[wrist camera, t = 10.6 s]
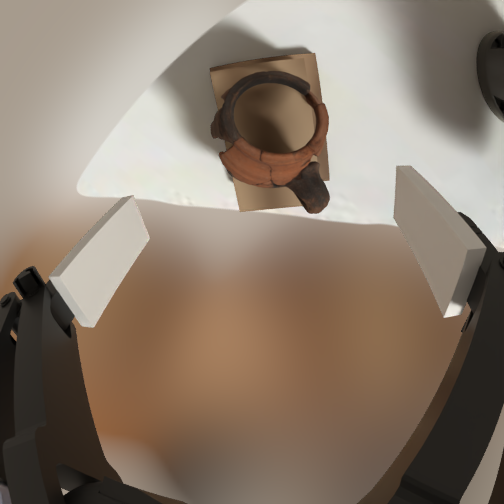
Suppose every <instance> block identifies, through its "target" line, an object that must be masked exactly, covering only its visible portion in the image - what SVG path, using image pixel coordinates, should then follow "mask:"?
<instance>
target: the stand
mask: <svg viewBox="0 0 504 504" xmlns="http://www.w3.org/2000/svg"><path fill="white" fill-rule="evenodd" d="M262 71H265V72H268V71H282V72H286V73H290V74H292V75H294V76H298V77H300V78H302V79H303V80H305V81H307V82H308V83H309V84H310V91H311V92H312V93H313V94H314V95H315V96H316V97H317V99H318V100H319V101H320V102H321V103H322V96H321V88H320V81H319V74H318V68H317V61H316V55H315V53H309V54H296V55H285V56H276V57H268V58H261V59H255V60H248V61H243V62H237V63H232V64H227V65H222V66H217V67H213V68H210V75H211V80H212V84H213V89H214V94H215V99H216V103H217V108H218V110H219V109H220V108H222V105H223V104H224V100H223V99H222V98H221V96H222V95H223V94H224V93H225V92H226V91H227V90H228V89H230V88H231V87H233V85H234V84H235V83H236V82H238V81H239V80H240V79H242V78H244V77H245V76H248V75H250V74H253V73H256V72H262ZM234 122H235V125H236V127H237V129H238V131H239V133H240V135H241V136H242V137H244V138H245V139H246V140H247V141H248V142H249V143H250V144H252V145H253V146H255V147H257V148H259V149H261V150H263V151H267V152H271V153H289V152H293V151H296V150H298V149H300V148H302V147H303V146H305V145H306V144H307V143H308V142H309V141H310V139H311V138H312V136H313V134H314V132H315V128H316V116H315V113H314V109H313V108H312V107H311V106H310V105H309V104H308V103H307V101H306V98H305V96H304V95H302V94H301V93H300V92H298V91H297V90H295V89H293V88H291V87H289V86H286V85H282V84H276V83H265V84H259V85H256V86H253V87H251V88H249V89H248V90H246V91H245V92H244V93H243V94H242V95H241V96H240V97H239V98H238V100H237V101H236V104H235V107H234ZM225 145H226V150H228V149H229V148H230V147H231V146H232V145H233V144H231V143H230V142H227V141H225ZM312 161H316V162H318V163H319V164H320V167H319V174H320V177H321V179H322V180H323V181H328V180H329V165H328V152H327V141H326V138H325V142H324V146H323V149H322V151H321V154H320V155H319V157H317V156H315V155H313V156H312V158H311V161H310V162H312ZM232 177H233V176H232ZM233 182H234V187H235V191H236V196H237V200H238V205H239V210H240V212H245V211H255V210H264V209H275V208H285V207H296V206H302V204H301V203H300V201H299V200H298V198H297V196H296V195H295V194H294V192H293V191H292V190H290V189H289V188H287V187H280V188H262V187H257V186H253V185H249V184H246V183H244V182H241V181H239V180H237V179H235V178H234V177H233Z"/></svg>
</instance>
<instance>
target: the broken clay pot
mask: <svg viewBox="0 0 504 504" xmlns="http://www.w3.org/2000/svg"><path fill="white" fill-rule="evenodd" d="M265 83H276V84H282V85H286V86H289V87H291V88H293V89H295V90H297V91H298V92H300V93H301V94H302V95H304V96H305V98H306V101H307V103H308V104H309V105H310V106H311V107H312V108H313V109H314V113H315V116H316V128H315V132H314V134H313V136H312V138H311V139H310V141H309V142H308V143H307V144H306V145H305V146H303V147H302V148H300V149H298V150H296V151H293V152H289V153H271V152H267V151H263V150H261V149H259V148H257V147H255V146H253V145H252V144H250V143H249V142H248V141H247V140H246V139H245V138H244V137H242V136H241V135H240V133H239V131H238V129H237V127H236V125H235V122H234V107H235V104H236V101H237V100H238V98H239V97H240V96H241V95H242V94H243V93H244V92H245V91H246V90H248V89H249V88H251V87H253V86H256V85H259V84H265ZM221 98H222V99H223V100H224V104H223V105H222V108H220V109H219V110H218V112H217V113H216V115H215V118H214V121H213V122H212V124H211V135H212V137H213V138H220V139H223V140H225V141H227V142H230V143H231V144H233V145H232V146H231V147H230V148H229V149H228V150H227V151H225V152H220V153H219V156H220V159H221V161H222V164H223V165H224V166H225V167H226V169H227V171H228V173H229V174H230V175H231V176H233V177H234V178H235V179H237V180H239V181H241V182H244V183H246V184H249V185H253V186H257V187H262V188H280V187H287V188H289V189H290V190H292V191H293V192H294V194H295V195H296V196H297V198H298V200H299V201H300V203H301V204H302V206H303V207H304V208H305V210H306V211H307V212H308V213H310V214H313V213H315V214H316V213H320V212H321V211H322V210H323V209H324V208H325V207H326V206H327V205H328V202H329V200H330V196H329V192H328V190H327V188H326V185H325V183H324V182H323V180H322V179H321V177H320V174H319V167H320V164H319V163H318V162H316V161H312V162H310V161H311V158H312V156H313V155H315V156H317V157H319V155H320V154H321V151H322V149H323V146H324V142H325V138H326V135H327V132H328V125H329V116H328V113H327V109H326V106H325V104H324V103H321V102H320V101H319V100H318V99H317V97H316V96H315V95H314V94H313V93H312V92H311V91H310V84H309V83H308V82H307V81H305V80H303V79H302V78H300V77H298V76H294V75H292V74H290V73H286V72H282V71H268V72H265V71H262V72H256V73H253V74H250V75H248V76H245V77H244V78H242V79H240V80H239V81H238V82H236V83H235V84H234V85H233V87H231V88H230V89H228V90H227V91H226V92H225V93H224V94H223V95H222V96H221Z"/></svg>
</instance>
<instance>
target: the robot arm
mask: <svg viewBox="0 0 504 504" xmlns="http://www.w3.org/2000/svg"><path fill="white" fill-rule="evenodd" d="M477 71H478V78H479V82H480V86H481V89H482V92H483V95H484V97H485V100H486V102H487V104H488V105H489V107H490V109H491V110H492V111H493V113H494V114H495V115H496V116H497V117H498V118H499V119H500V120H501V121H503V122H504V32H498V31H497V32H491V33H489V34H487V35H486V36H485V37H484V38H483V40H482V42H481V44H480V46H479V49H478V55H477ZM393 218H394V219H395V221H396V223H397V225H398V226H399V228H400V229H401V231H402V233H403V235H404V237H405V239H406V240H407V242H408V244H409V246H410V248H411V250H412V251H413V253H414V255H415V257H416V259H417V261H418V263H419V265H420V267H421V269H422V271H423V273H424V275H425V277H426V279H427V281H428V283H429V285H430V287H431V290H432V292H433V294H434V296H435V298H436V301H437V303H438V305H439V307H440V310H441V312H442V314H443V317H450V316H456V315H460V314H462V312H463V310H464V307H465V305H466V302H468V304H469V306H470V308H471V312H470V314H469V316H468V318H467V320H466V322H465V324H464V326H463V328H462V330H461V332H463V333H462V335H461V338H460V341H459V343H458V346H457V348H456V351H455V353H454V355H453V358H452V360H451V362H450V365H449V367H448V370H447V371H446V374H445V376H444V378H443V380H442V382H441V384H440V386H439V388H438V390H437V392H436V394H435V396H434V398H433V400H432V402H431V403H430V405H429V407H428V409H427V411H426V412H425V414H424V416H423V418H422V419H421V421H420V423H419V424H418V426H417V428H416V429H415V431H414V433H413V434H412V436H411V437H410V439H409V440H408V442H407V443H406V445H405V447H404V448H403V449H402V451H401V452H400V454H399V455H398V456H397V458H396V459H395V461H394V462H393V464H392V465H391V466H390V467H389V469H388V470H387V471H386V473H385V474H384V475H383V477H382V478H381V479H380V481H379V482H378V483H377V484H376V485H375V487H374V488H373V489H372V490H371V491H370V492H369V493H368V494H367V495H366V496H365V497H364V498H363V499H361V500H360V501H359V502H358V503H357V504H459V503H460V500H461V498H462V496H463V494H464V492H465V490H466V489H467V486H468V485H469V483H470V481H471V480H472V477H473V476H474V474H475V472H476V470H477V468H478V466H479V464H480V462H481V460H482V458H483V456H484V453H485V451H486V449H487V447H488V444H489V442H490V440H491V437H492V435H493V432H494V430H495V427H496V424H497V422H498V419H499V416H500V413H501V410H502V407H503V404H504V252H498V251H497V250H496V248H495V247H494V246H493V245H492V243H491V242H490V241H489V240H488V238H487V237H486V236H485V235H484V234H482V231H481V230H480V229H479V228H477V225H476V224H475V223H474V222H473V221H472V220H471V219H470V218H469V217H467V216H466V215H464V214H463V213H461V212H456V210H455V209H454V208H453V207H452V206H451V205H450V204H449V203H448V202H447V201H446V200H445V199H444V198H443V197H442V195H441V194H440V193H439V192H438V191H437V190H436V189H435V188H434V187H433V186H432V185H431V184H430V183H429V182H428V181H427V180H426V179H424V178H423V177H422V176H421V175H420V174H419V173H418V172H417V171H416V170H415V169H414V168H413V167H412V166H396V189H395V205H394V217H393ZM149 239H150V237H149V235H148V232H147V230H146V227H145V225H144V222H143V220H142V217H141V214H140V212H139V209H138V206H137V204H136V201H135V198H134V195H132V196H127V197H123V198H121V199H120V200H119V201H118V202H117V203H116V204H115V205H114V206H113V207H112V208H111V209H110V210H109V211H108V212H107V213H106V214H105V215H104V216H103V217H102V218H101V219H100V220H99V221H98V222H97V223H96V224H95V225H94V226H93V227H92V228H91V229H90V230H89V231H88V232H87V233H86V234H85V236H84V237H83V238H82V239H81V240H80V241H79V242H78V243H77V244H76V245H75V246H74V248H73V249H72V250H71V251H70V252H69V253H68V255H67V256H66V257H65V258H64V259H63V260H62V261H61V263H60V264H59V265H58V266H57V267H56V268H55V269H54V271H53V272H52V273H51V274H50V276H49V279H50V280H49V281H48V282H47V284H45V283H44V281H43V279H42V278H41V276H40V275H39V273H38V271H37V269H36V268H35V267H34V266H32V267H28V268H26V269H25V270H23V271H22V272H21V273H20V274H19V275H18V276H17V277H16V278H15V280H14V282H13V284H14V286H15V287H16V289H17V290H18V292H19V293H20V295H21V296H22V297H23V299H22V300H20V299H19V298H18V297H17V295H16V293H15V292H11V293H9V294H6V295H5V296H4V297H3V298H2V299H1V301H0V504H187V503H185V502H183V501H179V500H175V499H171V498H167V497H164V496H160V495H157V494H153V493H150V492H147V491H144V490H141V489H138V488H135V487H132V486H129V485H126V484H123V482H122V480H121V478H120V476H119V475H118V473H117V472H116V471H115V470H114V469H113V468H112V467H111V465H109V463H108V462H107V460H106V458H105V456H104V453H103V451H102V447H101V444H100V441H99V438H98V435H97V431H96V428H95V425H94V421H93V418H92V414H91V410H90V406H89V402H88V397H87V393H86V388H85V384H84V379H83V373H82V368H81V362H80V357H79V350H78V343H77V335H76V328H75V326H74V324H73V323H72V322H71V321H72V320H73V318H74V317H75V318H76V319H77V320H78V322H79V323H80V324H81V326H85V327H94V326H95V324H96V323H97V321H98V319H99V318H100V316H101V314H102V313H103V311H104V309H105V308H106V306H107V304H108V302H109V301H110V299H111V298H112V296H113V294H114V293H115V291H116V289H117V287H118V286H119V285H120V283H121V281H122V280H123V278H124V277H125V275H126V274H127V272H128V271H129V269H130V267H131V266H132V264H133V263H134V261H135V260H136V258H137V257H138V255H139V254H140V252H141V251H142V249H143V248H144V247H145V245H146V244H147V242H148V241H149ZM11 330H13V331H14V333H15V334H16V335H17V342H16V341H15V340H14V339H13V337H12V336H11V335H10V332H11ZM61 488H62V489H65V490H68V491H70V492H68V493H67V494H65V495H64V496H63V494H62V491H61ZM488 504H504V449H503V454H502V458H501V463H500V467H499V471H498V474H497V478H496V481H495V485H494V488H493V491H492V495H491V497H490V500H489V503H488Z"/></svg>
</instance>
